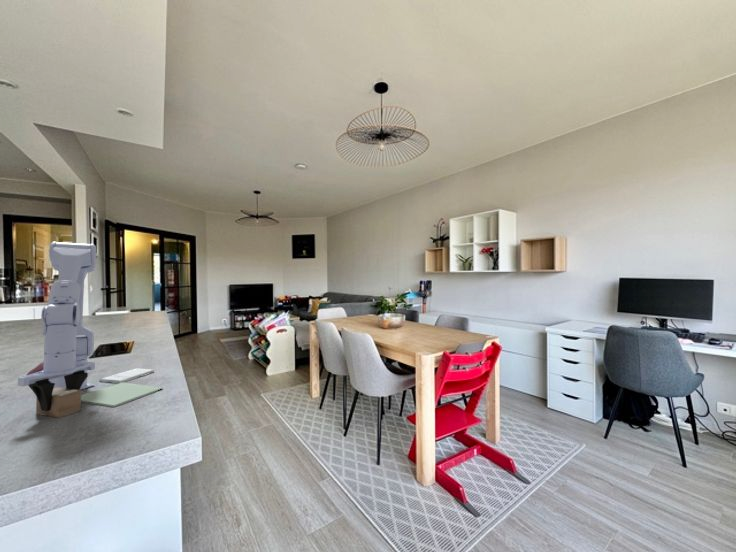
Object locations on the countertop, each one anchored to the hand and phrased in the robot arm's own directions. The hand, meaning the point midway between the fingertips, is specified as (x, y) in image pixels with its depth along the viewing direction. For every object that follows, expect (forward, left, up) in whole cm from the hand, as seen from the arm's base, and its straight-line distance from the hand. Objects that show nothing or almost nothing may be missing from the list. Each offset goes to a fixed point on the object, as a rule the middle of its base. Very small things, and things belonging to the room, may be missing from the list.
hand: (58, 406), depth 77 cm
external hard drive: (-12, +26, -2) cm, 29 cm away
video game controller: (-36, +16, -2) cm, 40 cm away
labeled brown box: (0, 0, -1) cm, 1 cm away
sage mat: (+2, +13, -1) cm, 13 cm away
